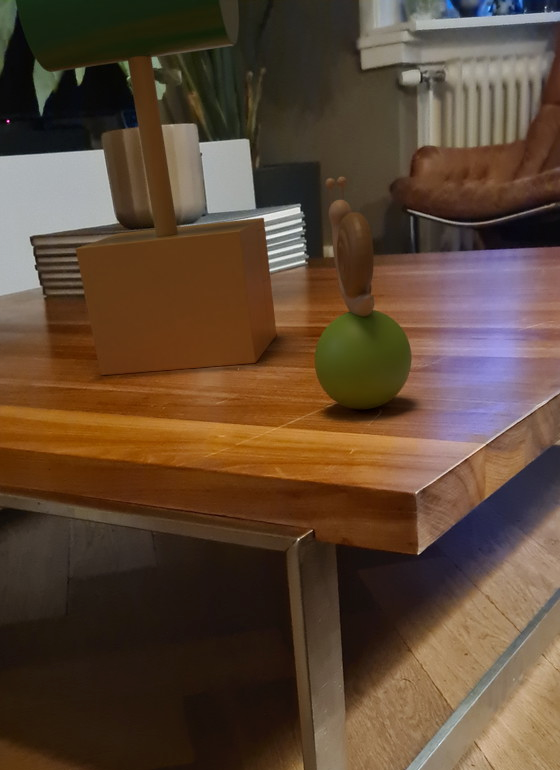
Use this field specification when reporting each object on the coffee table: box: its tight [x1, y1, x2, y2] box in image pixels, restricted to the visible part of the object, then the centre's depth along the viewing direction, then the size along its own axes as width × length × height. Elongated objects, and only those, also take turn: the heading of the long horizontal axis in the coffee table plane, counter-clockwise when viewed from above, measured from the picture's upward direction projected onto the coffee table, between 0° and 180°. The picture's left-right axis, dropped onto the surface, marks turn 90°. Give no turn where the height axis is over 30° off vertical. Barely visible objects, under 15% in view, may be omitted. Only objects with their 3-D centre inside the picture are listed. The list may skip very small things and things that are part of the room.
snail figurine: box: [314, 176, 413, 411], centre depth 50 cm, size 5×6×12 cm
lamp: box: [15, 0, 278, 376], centre depth 66 cm, size 10×13×27 cm
